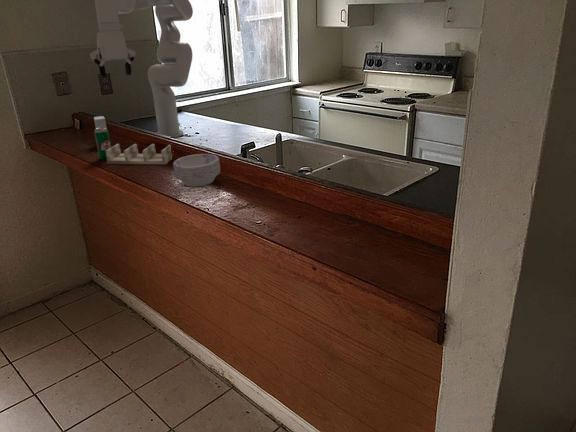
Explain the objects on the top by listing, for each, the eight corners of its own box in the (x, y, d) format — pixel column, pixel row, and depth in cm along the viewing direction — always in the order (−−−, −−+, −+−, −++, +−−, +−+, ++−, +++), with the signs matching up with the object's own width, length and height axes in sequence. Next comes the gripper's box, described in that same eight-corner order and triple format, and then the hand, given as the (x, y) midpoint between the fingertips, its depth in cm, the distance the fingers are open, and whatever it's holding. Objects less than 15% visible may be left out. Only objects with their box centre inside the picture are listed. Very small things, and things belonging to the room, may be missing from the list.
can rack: (118, 156, 200) (116, 143, 198) (174, 156, 197) (173, 143, 195) (107, 163, 191) (104, 150, 189) (165, 164, 188) (163, 150, 186)
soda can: (104, 160, 195) (98, 130, 191) (97, 158, 198) (91, 129, 193) (115, 157, 199) (110, 127, 194) (108, 155, 202) (102, 126, 197)
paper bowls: (166, 183, 167) (163, 161, 164) (203, 172, 177) (201, 150, 174) (193, 193, 157) (190, 169, 154) (230, 181, 167) (228, 158, 164)
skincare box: (98, 143, 220) (93, 117, 215) (108, 142, 222) (103, 115, 217) (100, 147, 215) (94, 119, 210) (110, 145, 217) (105, 118, 212)
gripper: (128, 27, 192) (134, 73, 198) (82, 28, 182) (90, 77, 188) (135, 27, 187) (141, 74, 193) (89, 28, 177) (97, 78, 183)
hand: (116, 75), depth 191 cm, fingers open, 9 cm apart
